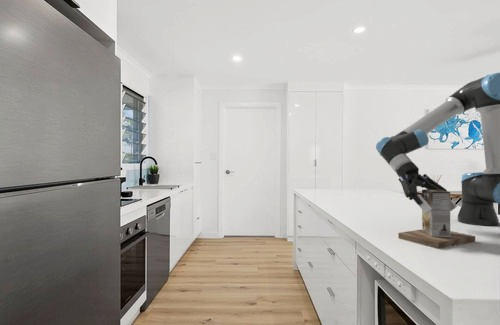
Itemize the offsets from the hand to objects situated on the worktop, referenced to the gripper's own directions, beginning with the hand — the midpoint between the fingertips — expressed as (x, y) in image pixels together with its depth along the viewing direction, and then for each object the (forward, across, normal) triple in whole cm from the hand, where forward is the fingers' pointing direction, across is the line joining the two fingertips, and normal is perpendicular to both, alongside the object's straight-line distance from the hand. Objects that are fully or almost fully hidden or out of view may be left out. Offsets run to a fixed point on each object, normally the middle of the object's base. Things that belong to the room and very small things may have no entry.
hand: (441, 210), depth 105 cm
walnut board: (+6, 0, -10) cm, 11 cm away
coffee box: (+5, 0, -8) cm, 10 cm away
